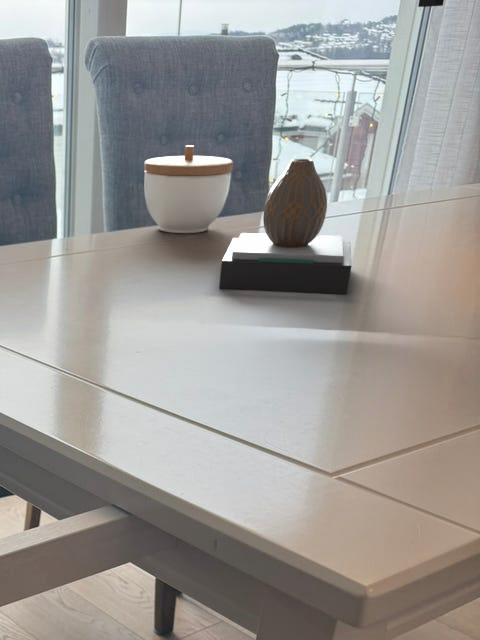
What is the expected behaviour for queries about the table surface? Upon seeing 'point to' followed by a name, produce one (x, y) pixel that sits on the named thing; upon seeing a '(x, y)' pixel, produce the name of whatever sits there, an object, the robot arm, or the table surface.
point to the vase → (295, 205)
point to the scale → (287, 265)
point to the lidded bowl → (186, 190)
